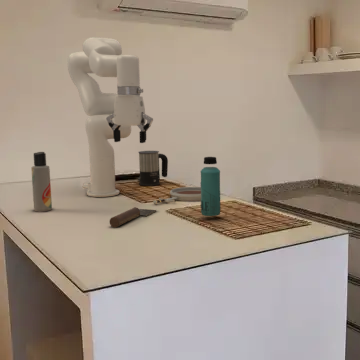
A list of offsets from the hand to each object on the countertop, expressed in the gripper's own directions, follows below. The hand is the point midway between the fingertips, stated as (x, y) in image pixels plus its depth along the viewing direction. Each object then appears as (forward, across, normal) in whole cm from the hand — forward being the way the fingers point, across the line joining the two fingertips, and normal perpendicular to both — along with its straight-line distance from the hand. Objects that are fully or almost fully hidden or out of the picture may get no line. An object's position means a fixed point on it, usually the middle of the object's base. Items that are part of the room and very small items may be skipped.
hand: (130, 142), depth 171 cm
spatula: (+23, -8, +15) cm, 29 cm away
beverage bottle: (+23, -32, +8) cm, 40 cm away
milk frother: (+24, +17, -48) cm, 56 cm away
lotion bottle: (+23, +27, +13) cm, 38 cm away
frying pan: (+23, -12, -18) cm, 32 cm away
